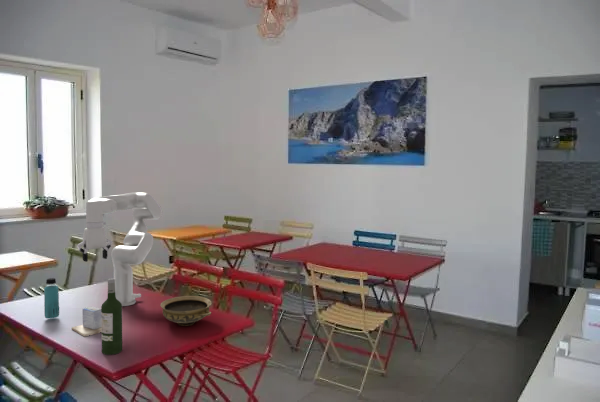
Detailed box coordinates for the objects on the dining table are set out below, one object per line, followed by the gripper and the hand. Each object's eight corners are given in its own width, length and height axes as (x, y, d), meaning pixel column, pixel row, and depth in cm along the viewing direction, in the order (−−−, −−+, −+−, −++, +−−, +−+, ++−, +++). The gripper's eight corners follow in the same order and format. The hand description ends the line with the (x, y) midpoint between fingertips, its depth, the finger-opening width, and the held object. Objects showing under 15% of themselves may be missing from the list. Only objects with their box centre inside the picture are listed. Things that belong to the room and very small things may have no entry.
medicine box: (102, 327, 221) (102, 308, 220) (94, 330, 217) (93, 311, 216) (90, 324, 225) (90, 306, 224) (82, 327, 221) (82, 308, 220)
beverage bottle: (53, 322, 230) (52, 280, 228) (41, 320, 231) (40, 279, 229) (62, 317, 236) (61, 277, 234) (50, 316, 237) (49, 276, 236)
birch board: (99, 322, 230) (99, 320, 230) (112, 329, 222) (112, 327, 221) (71, 329, 220) (71, 327, 220) (84, 336, 212) (84, 334, 212)
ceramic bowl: (144, 324, 229) (144, 303, 229) (181, 311, 250) (181, 292, 249) (191, 337, 214) (191, 315, 213) (226, 322, 235) (226, 302, 234)
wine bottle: (97, 353, 194) (96, 280, 192) (111, 346, 202) (110, 275, 199) (112, 356, 192) (112, 282, 189) (126, 349, 199) (126, 277, 196)
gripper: (107, 223, 245) (108, 256, 246) (73, 226, 232) (74, 261, 233) (115, 224, 240) (115, 258, 241) (80, 227, 227) (81, 263, 228)
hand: (95, 259), depth 237 cm, fingers open, 9 cm apart
